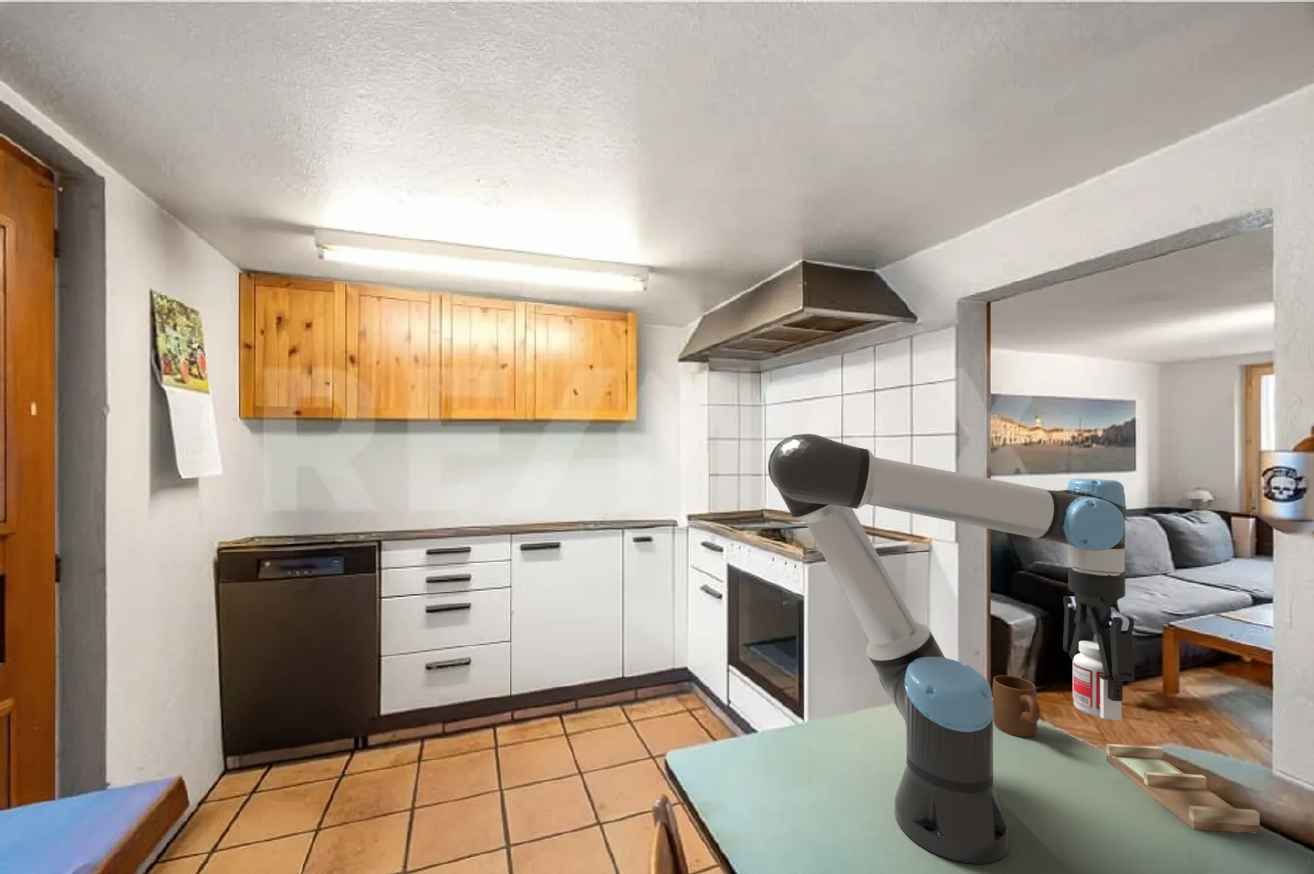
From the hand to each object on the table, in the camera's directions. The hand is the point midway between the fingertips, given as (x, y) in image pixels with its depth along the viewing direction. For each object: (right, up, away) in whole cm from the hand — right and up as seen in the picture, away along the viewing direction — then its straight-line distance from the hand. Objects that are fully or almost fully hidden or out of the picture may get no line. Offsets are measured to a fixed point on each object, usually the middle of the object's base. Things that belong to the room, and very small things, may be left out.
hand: (1096, 708), depth 92 cm
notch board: (+12, -14, -1) cm, 18 cm away
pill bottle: (0, -1, 0) cm, 1 cm away
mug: (-1, -14, +18) cm, 23 cm away
